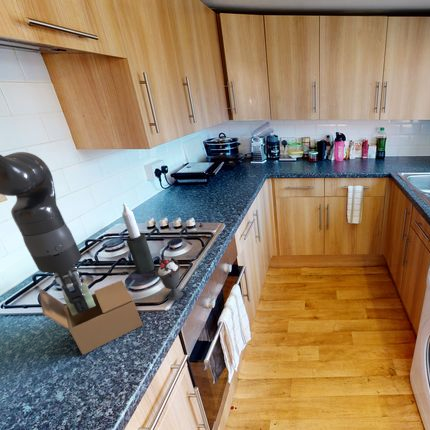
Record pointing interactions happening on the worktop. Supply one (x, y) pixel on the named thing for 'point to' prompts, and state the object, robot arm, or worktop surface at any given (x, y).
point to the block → (87, 297)
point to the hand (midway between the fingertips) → (81, 305)
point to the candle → (137, 244)
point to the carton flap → (53, 308)
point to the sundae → (170, 277)
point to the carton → (104, 318)
